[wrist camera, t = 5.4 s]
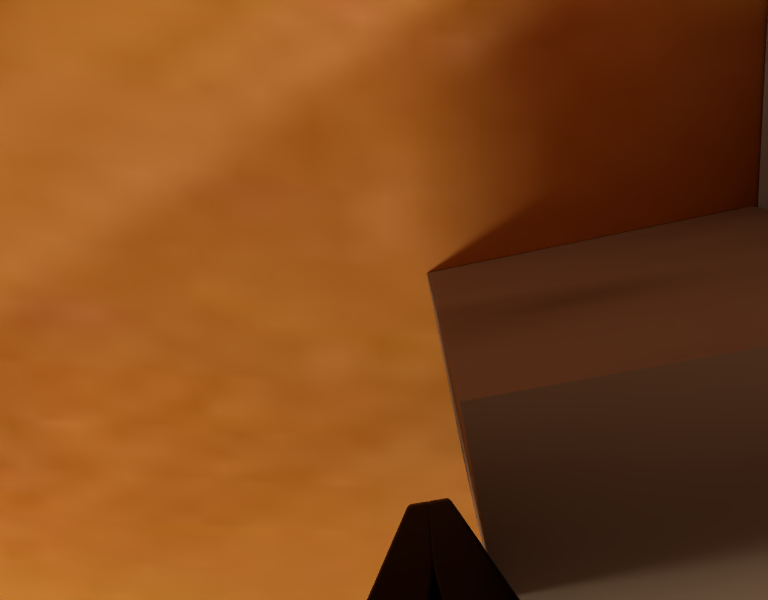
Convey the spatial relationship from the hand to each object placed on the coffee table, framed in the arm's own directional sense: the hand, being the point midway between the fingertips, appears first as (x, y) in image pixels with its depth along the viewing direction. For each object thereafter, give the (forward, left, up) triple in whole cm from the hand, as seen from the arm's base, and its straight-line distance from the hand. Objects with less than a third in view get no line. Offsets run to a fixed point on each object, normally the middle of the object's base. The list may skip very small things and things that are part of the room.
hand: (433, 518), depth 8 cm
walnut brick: (0, -5, -5) cm, 7 cm away
